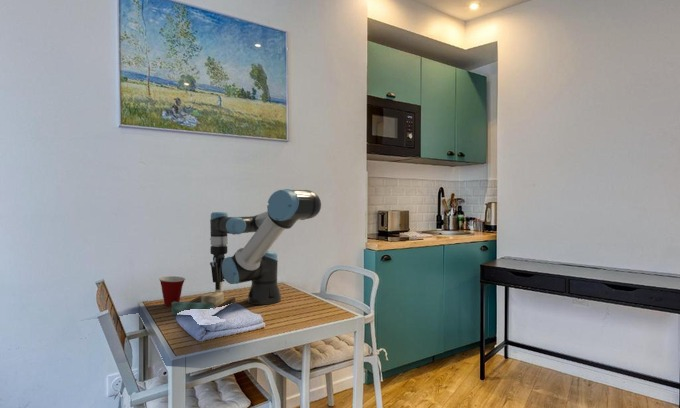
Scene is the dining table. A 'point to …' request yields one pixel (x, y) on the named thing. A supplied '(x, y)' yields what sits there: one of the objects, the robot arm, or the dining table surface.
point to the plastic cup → (171, 289)
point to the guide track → (196, 305)
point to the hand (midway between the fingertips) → (218, 296)
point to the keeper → (213, 298)
